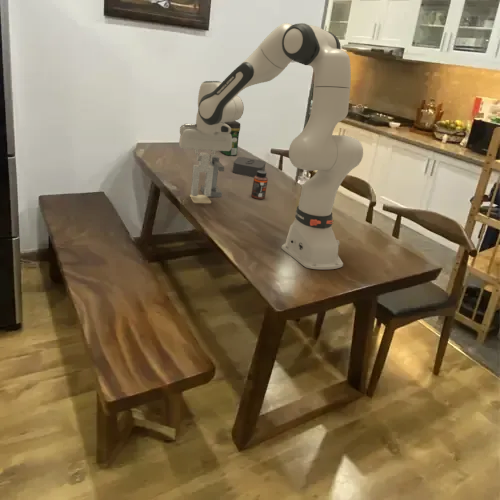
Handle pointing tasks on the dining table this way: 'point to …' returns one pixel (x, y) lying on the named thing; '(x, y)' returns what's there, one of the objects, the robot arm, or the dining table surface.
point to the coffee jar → (233, 137)
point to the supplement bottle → (259, 185)
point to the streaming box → (248, 166)
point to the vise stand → (215, 177)
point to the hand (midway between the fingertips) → (204, 160)
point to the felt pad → (200, 199)
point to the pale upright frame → (197, 169)
